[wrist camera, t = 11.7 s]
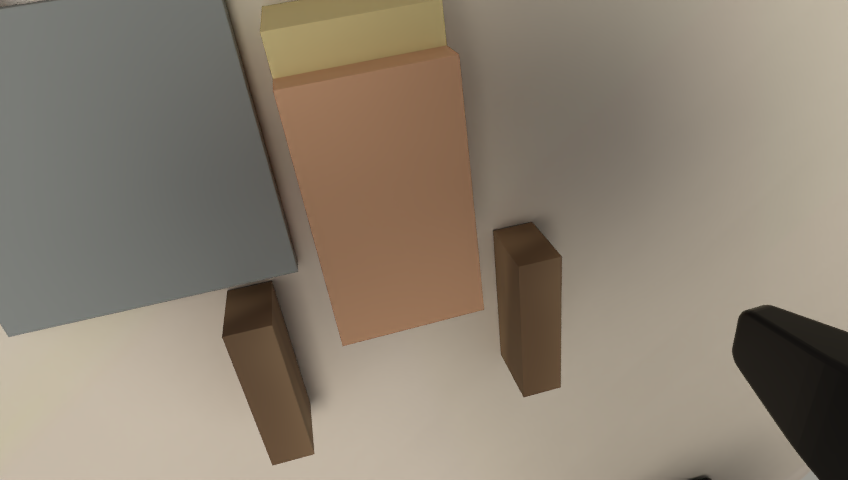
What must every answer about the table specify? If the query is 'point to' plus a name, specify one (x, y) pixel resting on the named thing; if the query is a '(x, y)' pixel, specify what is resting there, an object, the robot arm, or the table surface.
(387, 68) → the plug block
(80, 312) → the mat
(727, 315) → the table surface
